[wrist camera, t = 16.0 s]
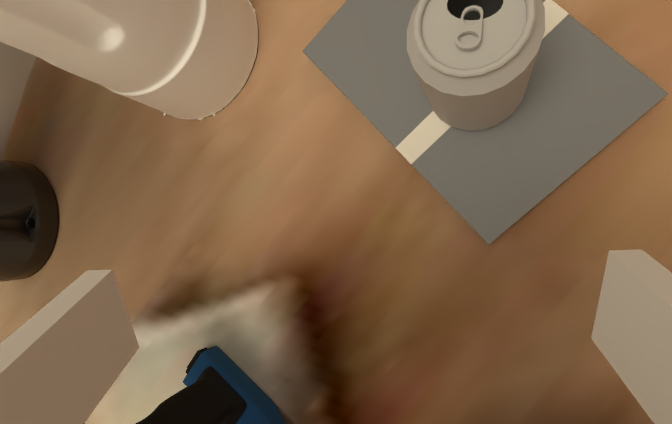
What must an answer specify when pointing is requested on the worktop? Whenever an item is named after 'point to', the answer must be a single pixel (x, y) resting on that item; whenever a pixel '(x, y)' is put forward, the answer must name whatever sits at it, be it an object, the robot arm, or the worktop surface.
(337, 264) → the worktop surface
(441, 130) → the board
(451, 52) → the can
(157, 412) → the handheld scanner
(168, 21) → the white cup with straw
